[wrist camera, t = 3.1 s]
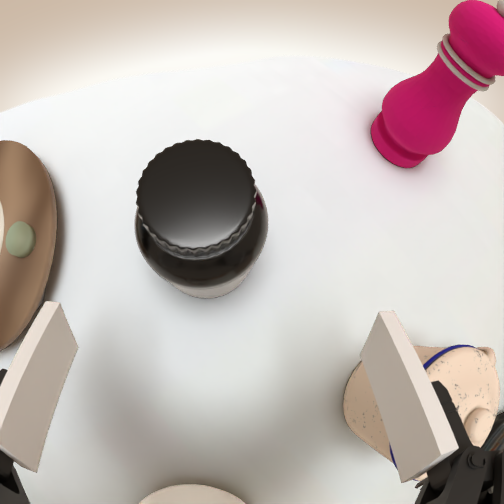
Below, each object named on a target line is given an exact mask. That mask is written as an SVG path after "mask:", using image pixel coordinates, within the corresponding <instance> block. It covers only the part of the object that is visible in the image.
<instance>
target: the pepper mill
mask: <svg viewBox="0 0 504 504" xmlns="http://www.w3.org/2000/svg"><path fill="white" fill-rule="evenodd" d="M449 28H450V34H445V35H444V36H443V40H442V41H441V42H439V43H438V45H437V50H438V55H437V57H436V58H435V60H434V62H433V63H432V64H431V65H430V66H429V67H428V68H427V69H426V70H425V71H423V72H422V73H421V74H418V75H416V76H414V77H411V78H408V79H406V80H403V81H401V82H400V83H398V84H397V85H395V86H394V87H392V88H391V90H390V91H389V92H388V93H387V94H386V96H385V97H384V100H383V103H382V111H381V112H380V113H379V115H378V116H377V118H376V119H375V120H374V122H373V124H372V127H371V135H372V140H373V142H374V144H375V146H376V148H377V149H378V151H379V152H380V153H381V154H382V155H383V156H384V157H385V158H386V159H387V160H389V161H390V162H391V163H393V164H395V165H397V166H400V167H405V168H411V167H414V166H416V165H418V164H419V163H420V162H421V161H423V160H424V159H425V158H426V157H427V156H428V155H431V154H436V153H439V152H440V151H442V150H443V149H444V148H445V147H446V146H447V145H448V144H449V142H450V141H451V139H452V137H453V135H454V133H455V131H456V128H457V124H458V121H459V117H460V114H461V111H462V109H463V107H464V105H465V103H466V101H467V100H468V99H469V98H470V97H471V96H472V94H474V93H475V92H476V91H478V90H479V91H486V90H487V89H488V88H489V85H491V84H493V83H494V82H495V75H499V76H504V0H499V1H498V3H497V9H496V8H494V7H493V6H491V5H489V4H486V3H484V2H481V1H477V0H467V1H465V2H461V3H460V4H458V5H457V6H456V7H455V8H454V9H453V11H452V12H451V14H450V16H449Z"/></svg>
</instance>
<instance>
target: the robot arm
mask: <svg viewBox="0 0 504 504" xmlns="http://www.w3.org/2000/svg"><path fill="white" fill-rule="evenodd" d="M77 350H78V345H77V343H76V340H75V338H74V336H73V334H72V331H71V329H70V326H69V324H68V322H67V319H66V317H65V314H64V312H63V309H62V307H61V304H60V303H59V302H50V301H46V302H45V303H44V305H43V307H42V308H41V310H40V312H39V313H38V315H37V317H36V318H35V320H34V322H33V324H32V325H31V327H30V329H29V331H28V332H27V334H26V336H25V338H24V340H23V342H22V343H21V345H20V347H19V349H18V351H17V353H16V355H15V357H14V359H13V361H12V363H11V365H10V367H9V369H8V370H6V369H2V370H1V371H0V504H30V502H29V500H28V498H27V496H26V493H25V491H24V489H23V486H22V484H21V482H20V479H19V477H18V474H17V471H16V469H15V468H14V466H13V462H14V461H15V462H16V463H17V464H19V465H20V466H21V467H24V468H26V469H28V470H31V471H33V472H36V473H37V470H38V466H39V462H40V458H41V455H42V451H43V447H44V444H45V440H46V437H47V434H48V430H49V427H50V424H51V421H52V418H53V415H54V411H55V408H56V406H57V403H58V400H59V397H60V394H61V391H62V388H63V386H64V383H65V380H66V378H67V375H68V372H69V370H70V367H71V365H72V362H73V360H74V357H75V355H76V352H77ZM360 357H361V359H362V362H363V365H364V368H365V370H366V373H367V376H368V379H369V382H370V384H371V387H372V390H373V393H374V396H375V399H376V402H377V405H378V408H379V411H380V414H381V417H382V420H383V423H384V426H385V429H386V433H387V436H388V439H389V442H390V445H391V449H392V452H393V455H394V459H395V462H396V465H397V469H398V472H399V476H400V480H401V483H404V482H407V481H410V480H413V479H416V478H418V477H420V476H421V475H423V474H424V473H427V476H428V477H426V478H425V479H423V480H422V481H420V482H419V483H417V485H416V486H415V488H418V487H420V486H422V485H423V486H422V488H421V489H420V490H421V491H420V493H419V495H418V497H417V500H416V502H415V504H504V448H503V449H502V450H494V451H484V450H483V449H482V448H480V447H479V446H474V445H473V444H472V443H471V441H470V439H469V437H468V434H467V432H466V430H465V427H464V425H463V423H462V420H461V418H460V416H459V414H458V411H456V407H455V405H454V403H453V402H452V398H451V396H450V394H449V392H448V390H447V389H446V388H445V386H444V385H443V384H442V383H441V382H440V381H439V380H438V381H433V382H430V380H429V378H428V375H427V373H426V371H425V369H424V367H423V365H422V363H421V361H420V359H419V357H418V355H417V353H416V351H415V349H414V347H413V345H412V343H411V341H410V339H409V338H408V336H407V334H406V332H405V330H404V328H403V326H402V324H401V322H400V321H399V319H398V317H397V315H396V313H395V311H383V312H379V313H378V315H377V317H376V320H375V322H374V325H373V327H372V329H371V331H370V334H369V336H368V338H367V341H366V343H365V345H364V347H363V349H362V351H361V354H360ZM491 487H493V493H492V491H491Z"/></svg>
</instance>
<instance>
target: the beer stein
mask: <svg viewBox="0 0 504 504" xmlns="http://www.w3.org/2000/svg"><path fill="white" fill-rule="evenodd" d="M481 448H482V449H483V450H484V451H494V450H502V449H503V448H504V412H503V413H501V414H499V415H497V416H496V418H495V421H494V424H493V426H492V429H491V431H490V433H489V435H488V437H487V438H486V440H485V442H484V443H483V445H482V446H481ZM491 491H492V493H493V487H491Z"/></svg>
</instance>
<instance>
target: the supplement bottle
mask: <svg viewBox="0 0 504 504" xmlns="http://www.w3.org/2000/svg"><path fill="white" fill-rule="evenodd" d="M138 184H139V187H138V189H137V191H136V194H137V201H136V204H137V210H136V215H135V235H136V240H137V244H138V247H139V249H140V252H141V254H142V256H143V257H144V259H145V260H146V262H147V263H148V264H149V266H150V267H151V268H152V269H153V270H154V271H155V272H156V273H157V274H158V275H159V276H161V277H162V278H163V279H165V280H166V281H167V282H169V283H170V284H172V285H173V286H175V287H176V288H177V289H179V290H180V291H182V292H184V293H186V294H188V295H190V296H193V297H197V298H216V297H220V296H223V295H225V294H227V293H229V292H231V291H233V290H234V289H235V288H237V287H238V286H239V285H240V284H241V283H242V281H243V280H244V279H245V278H246V276H247V275H248V273H249V272H250V270H251V268H252V267H253V265H254V264H255V262H256V260H257V259H258V257H259V255H260V253H261V251H262V249H263V247H264V244H265V241H266V237H267V232H268V213H267V208H266V205H265V201H264V199H263V196H262V194H261V192H260V191H259V189H258V188H257V186H256V185H255V179H254V178H253V177H252V172H251V169H250V168H248V167H247V164H246V161H245V160H243V159H241V158H240V156H239V154H238V153H236V152H234V151H232V149H231V148H230V147H227V146H223V145H222V144H221V143H219V142H212V141H211V140H204V141H203V140H200V139H197V140H193V141H190V140H186V141H184V142H182V143H176V144H174V145H173V146H172V147H167V148H165V149H164V150H163V152H161V153H158V154H157V155H156V156H155V158H154V159H153V160H151V161H150V162H149V163H148V166H147V168H146V169H144V170H143V173H142V177H141V178H140V180H139V181H138Z"/></svg>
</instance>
